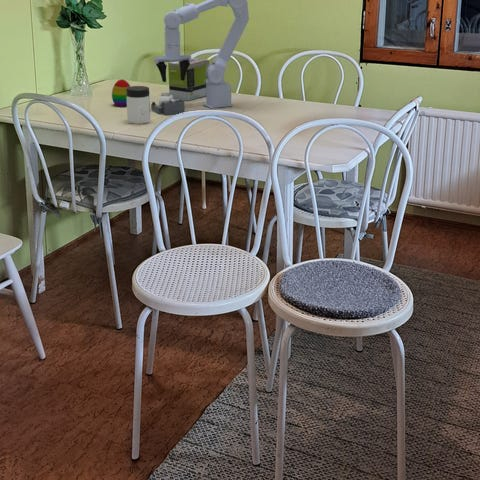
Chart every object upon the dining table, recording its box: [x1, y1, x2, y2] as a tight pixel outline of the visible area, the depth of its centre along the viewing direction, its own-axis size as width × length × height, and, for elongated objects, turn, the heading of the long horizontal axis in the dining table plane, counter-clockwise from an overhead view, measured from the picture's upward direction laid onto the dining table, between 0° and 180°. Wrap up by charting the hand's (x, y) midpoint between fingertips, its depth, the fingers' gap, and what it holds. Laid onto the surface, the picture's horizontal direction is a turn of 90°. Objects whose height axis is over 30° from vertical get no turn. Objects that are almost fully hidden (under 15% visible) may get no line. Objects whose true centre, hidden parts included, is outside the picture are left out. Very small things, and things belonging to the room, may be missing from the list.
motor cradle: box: [150, 99, 186, 116], centre depth 302 cm, size 10×11×5 cm
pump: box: [158, 92, 173, 107], centre depth 305 cm, size 5×5×6 cm
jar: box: [126, 85, 151, 125], centre depth 286 cm, size 9×8×12 cm
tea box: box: [167, 57, 210, 102], centre depth 326 cm, size 15×10×15 cm
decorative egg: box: [111, 79, 131, 107], centre depth 311 cm, size 8×8×10 cm
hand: (173, 80), depth 307 cm, fingers open, 7 cm apart
